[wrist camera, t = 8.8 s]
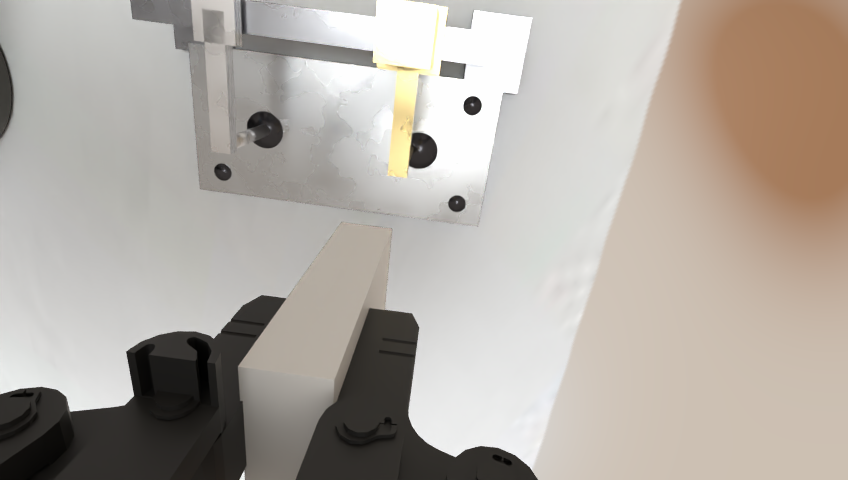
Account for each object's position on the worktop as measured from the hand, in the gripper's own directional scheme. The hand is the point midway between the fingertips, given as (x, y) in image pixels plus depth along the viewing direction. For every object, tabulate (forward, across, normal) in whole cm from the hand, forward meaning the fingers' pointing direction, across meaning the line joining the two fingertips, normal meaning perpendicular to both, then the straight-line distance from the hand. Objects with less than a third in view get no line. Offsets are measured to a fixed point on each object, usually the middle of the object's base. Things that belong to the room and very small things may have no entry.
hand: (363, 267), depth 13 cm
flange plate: (+23, -6, 0) cm, 23 cm away
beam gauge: (+23, -6, +4) cm, 24 cm away
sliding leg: (+22, -1, +4) cm, 22 cm away
